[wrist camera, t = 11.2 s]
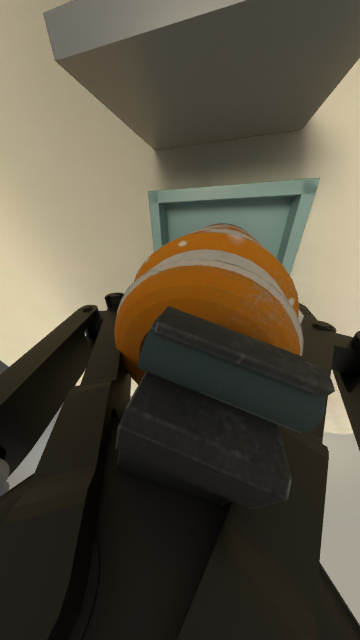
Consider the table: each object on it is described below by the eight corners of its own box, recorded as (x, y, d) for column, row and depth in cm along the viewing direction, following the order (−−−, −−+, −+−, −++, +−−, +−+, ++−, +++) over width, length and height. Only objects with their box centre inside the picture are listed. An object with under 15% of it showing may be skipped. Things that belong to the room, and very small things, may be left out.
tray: (158, 194, 19) (148, 191, 17) (305, 184, 16) (320, 177, 13) (168, 319, 28) (162, 329, 26) (264, 330, 25) (268, 342, 22)
